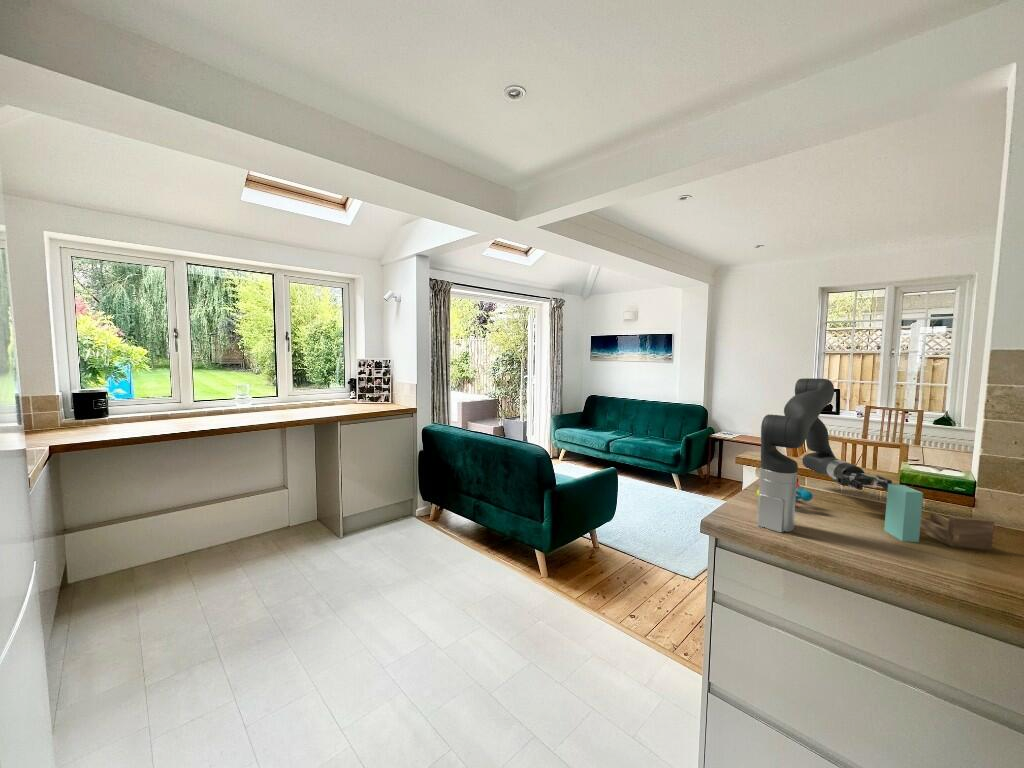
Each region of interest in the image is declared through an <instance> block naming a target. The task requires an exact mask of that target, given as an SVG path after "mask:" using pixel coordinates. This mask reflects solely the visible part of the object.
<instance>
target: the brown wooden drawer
mask: <svg viewBox="0 0 1024 768" xmlns="http://www.w3.org/2000/svg"><path fill="white" fill-rule="evenodd" d="M929 515H930V516H929V517H930V518H929V519H926V518H924V517H922V516H921V522H920V533H921V532H922V533H923V534H925V535H927V536H929V537H931V538H933V539H935V540H937V541H939V542H941V543H943V544H944V543H945V545H946V544H947V545H946V546H948V545H949V547H950V546H951V548H955V547H958V548H957V549H966V548H968V549H969V550H970V549H971V550H978V551H979V550H980V551H989V550H991V551H992V549H993V548H992V547H993V539H994V529H995V520H992V519H990V518H989V519H988V518H977V517H965V516H952V515H951V516H950V515H949V518H947V517H946V516H943V515H940V514H938V513H936V512H930V514H929Z"/></svg>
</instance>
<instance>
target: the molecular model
mask: <svg viewBox="0 0 1024 768" xmlns="http://www.w3.org/2000/svg"><path fill="white" fill-rule="evenodd" d="M756 495H757V497H758V498H759V489H758V490H756ZM813 498H814V495H813V493H812V492H811V491H810V490H808V489H807V490H806V489H803V488H802V486H800V484H799V478H798V476H797V485H796V499H795V501H797V500H802V501H804V502H810V501H812V499H813Z"/></svg>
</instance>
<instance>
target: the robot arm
mask: <svg viewBox="0 0 1024 768" xmlns="http://www.w3.org/2000/svg"><path fill="white" fill-rule="evenodd" d="M834 394H835V386H834V383H833V382H832V380H829V379H828V378H806V377H805V378H804V377H803V378H798V380H797V381H796V382H795V388H794V395H793V396H792V397H791V398H790V399H789V400H788V401H787V402H786V403H785V405H784V409H783V414H784V415H780V414H779V415H778V414H766V415H765V416H764V417H763V419H762V421H761V426H760V469H759V471H760V472H759V482H758V483H759V485H758V487H759V488H758V490H759V497H758V501H757V503H758V504H757V515H756V516H757V518H756V523H757V526H758V527H761V528H764V527H765V528H764V529H767V530H772V531H774V532H778V533H784V531H785V533H787V532H788V533H789V532H792V531H794V530H795V529H794V528H795V512H796V511H795V509H796V500H795V499H796V496H797V494H796V491H797V488H796V485H797V477H798V467H799V464H798V462H797V461H795V460H794V459H793V458H790V457H788V456H786V455H785V454H783V453H781V452H780V451H779V450H778V448H777V447H780V448H786V449H799V448H801V447H803V445H804V443H806V444H805V445H806V447H807V449H808V450H810V451H812V452H811V453H806V454H805V455H803V457H802V464H803V467H806V468H809V469H811V470H814V471H815V472H817V473H816V474H818V473H819V474H818V475H826V476H828V477H830V478H832V479H833V482H836V484H838V485H840V486H843V487H845V486H846V487H848V488H854V489H857V490H859V491H862V490H863V487H868V488H873V489H876V488H880V489H882V490H883V489H884V490H885V491H886V492H887V491H888V484H893V480H891V479H889V478H886V477H883V476H881V475H878V474H877V475H875V476H874V475H869V474H868V473H865V471H864V470H863V468H861V467H859V466H858V465H855V464H853V463H850V462H848V461H845V460H841V459H839V458H836V456H835V454H834V452H833V450H832V448H831V446H830V440H829V430H828V428H827V426H826V425H825V424H824V422H823V421H822V420H821V419H820V418H819V415H820V414H821V413H822V411H823V409H824V408H826V407H827V406H828V405H829V404H830V403H831V402H832V400H833V397H834ZM806 468H805V469H806ZM872 483H873V484H872Z"/></svg>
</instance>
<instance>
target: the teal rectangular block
mask: <svg viewBox="0 0 1024 768" xmlns="http://www.w3.org/2000/svg"><path fill="white" fill-rule="evenodd" d="M886 492H887V494H886V505H885V518H884V528H883V529H884V530H883V531H884V532H886V533H887V534H890V535H891V536H893V537H895V538H896V539H898V540H900V541H901V542H912V543H920V533H921V531H920V522H921V517H922V508H923V500H924V499H923V498H924V496H923V495H924V492H922V491H919V490H916V489H914V488H912V487H909V486H907V485H905V484H893V483H892V484H888V491H887V490H886Z"/></svg>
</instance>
